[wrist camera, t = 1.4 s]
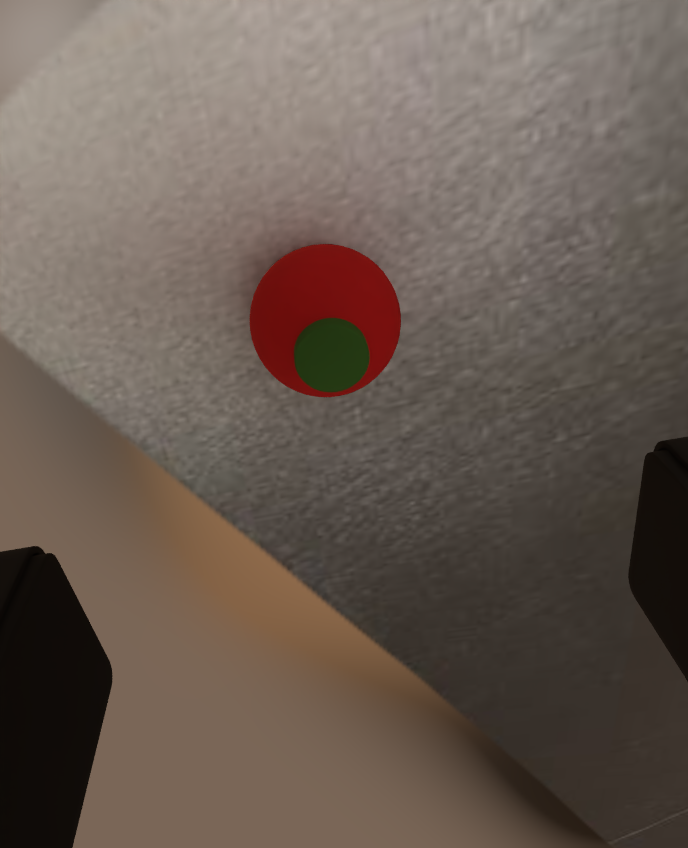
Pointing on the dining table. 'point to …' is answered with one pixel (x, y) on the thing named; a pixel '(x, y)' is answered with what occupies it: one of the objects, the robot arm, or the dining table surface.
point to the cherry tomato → (325, 320)
